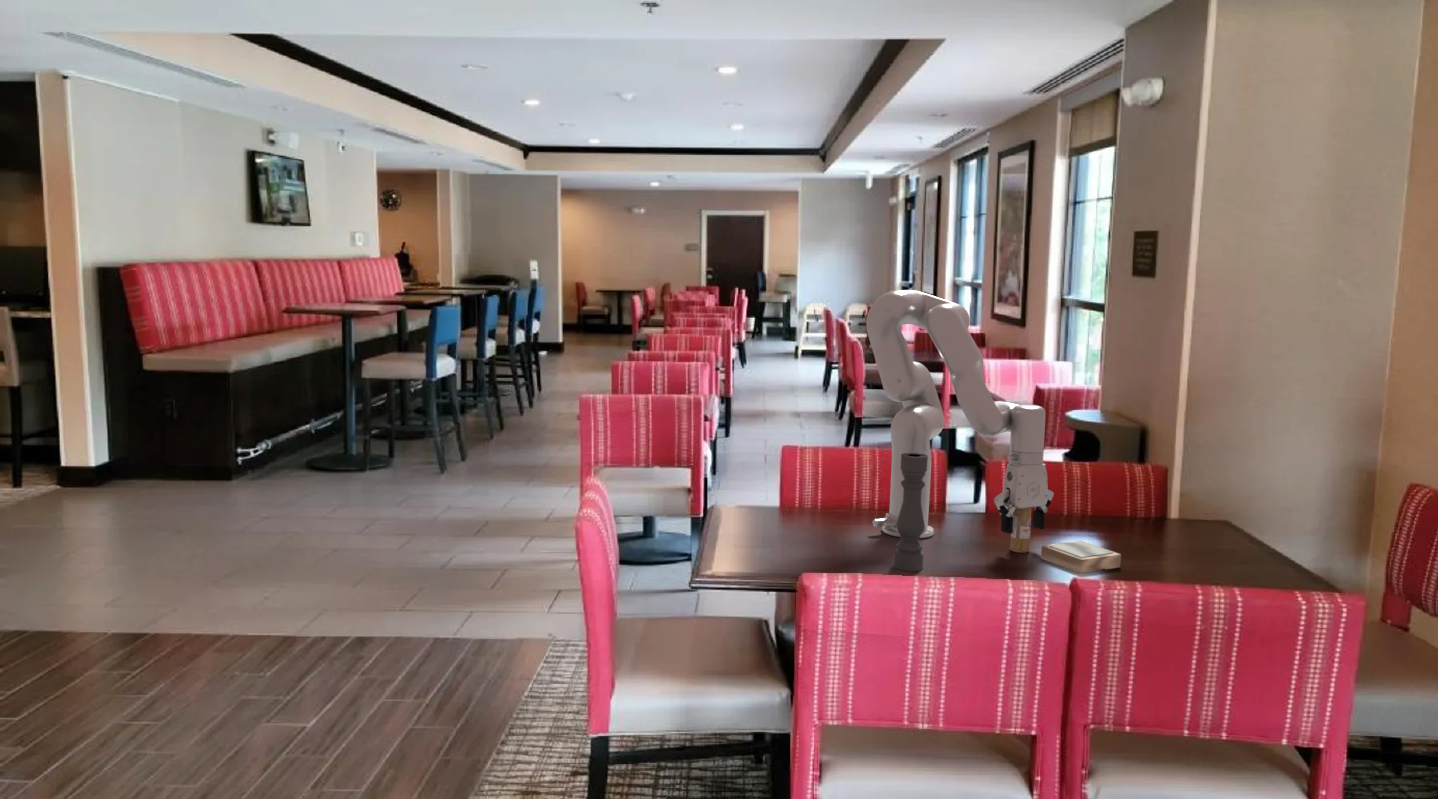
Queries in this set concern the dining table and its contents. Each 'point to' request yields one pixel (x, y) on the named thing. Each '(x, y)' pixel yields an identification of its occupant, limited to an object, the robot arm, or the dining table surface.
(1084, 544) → the tray
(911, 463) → the candle holder
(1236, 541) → the dining table surface
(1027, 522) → the sprinkles bottle
